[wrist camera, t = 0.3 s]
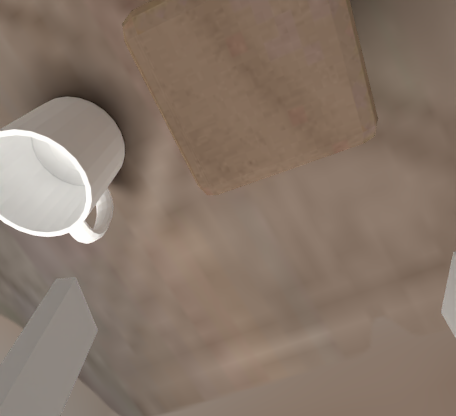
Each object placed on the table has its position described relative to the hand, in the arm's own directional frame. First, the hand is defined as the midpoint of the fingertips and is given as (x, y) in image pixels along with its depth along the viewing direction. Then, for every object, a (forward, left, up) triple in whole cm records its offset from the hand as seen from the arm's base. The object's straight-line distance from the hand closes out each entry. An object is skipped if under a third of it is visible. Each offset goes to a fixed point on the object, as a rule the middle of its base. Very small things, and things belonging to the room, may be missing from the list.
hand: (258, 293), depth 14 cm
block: (-5, +1, -28) cm, 29 cm away
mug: (+4, -18, -28) cm, 34 cm away
